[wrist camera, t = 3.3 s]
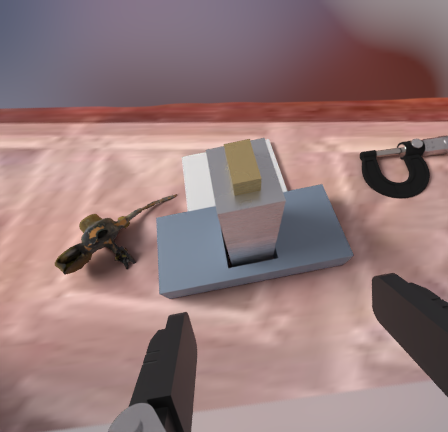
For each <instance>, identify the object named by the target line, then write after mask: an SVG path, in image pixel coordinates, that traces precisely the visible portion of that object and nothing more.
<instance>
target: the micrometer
mask: <svg viewBox="0 0 448 432" xmlns="http://www.w3.org/2000/svg"><path fill="white" fill-rule="evenodd" d="M447 153H448V136H440V137H436V138H429V139H423V140H420V139H413V140H412V141H407V142H401V143H399V144H398V146H397V148H394V149H386V150H379V151H375V150H373V151H366V152H361V153H360V159H361V160H362V174H363V177H364V179H365V181H366V183H367V184H368V185H369V186H370V187H371V188H372V189H373V190H375V191H376V192H378V193H380V194H382V195H385V196H388V197H392V198H409V197H413V196H415V195H417V194H419V193H421V192H422V191H423V190H424V189H425V188H426V186H427V184H428V182H429V177H430V174H429V169H428V166H427V164H426V162H425V161H424V159H423V158H422V157H421V156H430V155H440V154H447ZM392 155H399V157H400V158H401V159H404V161H405V163H406V166H407V168H408V171H409V177H408V179H407V180H406V181H405V182H401V183H396V182H392V181H389V180H388V179H386V178H385V177H384V176H383V175H382V173H381V170H380V168H379V165H378V162H377V160H376V158H377V157H385V156H392Z"/></svg>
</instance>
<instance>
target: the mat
mask: <svg viewBox="0 0 448 432" xmlns="http://www.w3.org/2000/svg"><path fill="white" fill-rule="evenodd" d="M265 141H266V144H267V147H268V150H269V153H270V156H271V159H272V162H273V165H274V168H275V170H276V173H277V176H278V179H279V182H280V185H281V188H282V191H283V192H286V191H287V189H286V186H285V183H284V180H283V177H282V174H281V172H280V169H279V166H278V163H277V160H276V158H275V155H274V152H273V149H272V146H271V144H270V141H269V139H267V140H265ZM182 164H183V173H184V181H185V190H186V199H187V208H188V211H193V210H198V209H203V208H208V207H213V206H216V205H215V199H214V194H213V188H212V183H211V177H210V171H209V166H208V160H207V155H206V152H204V153H199V154H195V155H190V156H185V157H182Z"/></svg>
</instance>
